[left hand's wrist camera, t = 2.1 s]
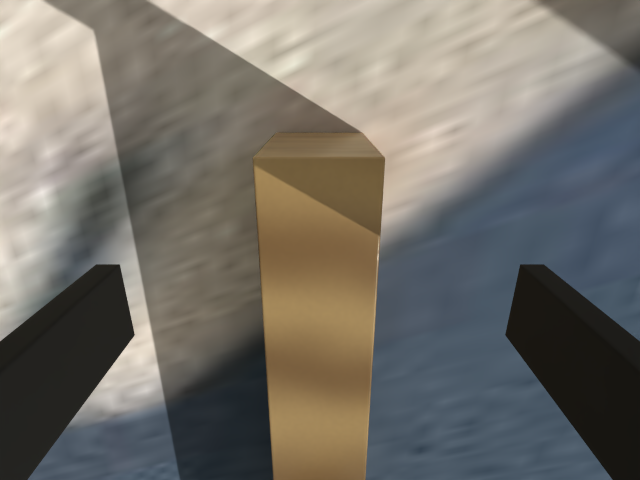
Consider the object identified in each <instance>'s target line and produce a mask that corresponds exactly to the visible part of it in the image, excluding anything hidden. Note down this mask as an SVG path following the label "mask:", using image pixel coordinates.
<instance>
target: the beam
mask: <svg viewBox="0 0 640 480" xmlns="http://www.w3.org/2000/svg"><path fill="white" fill-rule="evenodd" d="M384 168H385V157H384V156H383V155H382V154H381V153H380V152H379V151H378V149H377V148H376V147H375V146H374V145H373V144H372V143H371V142H370V141H369V139H368V138H367V137H366V136H365V135H364V134H363V133H275V134H274V136H273V137H272V138H271V139H270V140H269V141H268V142H267V143H266V144H265V145H264V146H263V147H262V148H261V150H260V151H259V152H258V153H257V154H256V155H255V156H254V157H253V171H254V186H255V202H256V217H257V233H258V249H259V264H260V280H261V296H262V311H263V327H264V342H265V358H266V374H267V389H268V405H269V421H270V436H271V452H272V467H273V480H365V475H366V459H367V443H368V427H369V410H370V394H371V378H372V362H373V346H374V330H375V314H376V297H377V281H378V265H379V249H380V233H381V217H382V201H383V184H384Z"/></svg>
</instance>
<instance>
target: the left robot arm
mask: <svg viewBox="0 0 640 480" xmlns="http://www.w3.org/2000/svg"><path fill="white" fill-rule="evenodd" d="M133 337H134V330H133V325H132V320H131V316H130V311H129V306H128V301H127V297H126V292H125V287H124V283H123V278H122V273H121V268H120V265H95V266H94V267H93V268H91V269H90V270H89V271H88V272H86V273H85V274H84V275H83V276H81V277H80V278H79V279H78V280H76V281H75V282H74V283H73V284H71V285H70V286H69V287H68V288H66V289H65V290H64V291H63V292H61V293H60V294H59V295H58V296H56V297H55V298H54V299H53V300H51V301H50V302H49V303H48V304H46V305H45V306H44V307H43V308H41V309H40V310H39V311H38V312H36V313H35V314H34V315H33V316H31V317H30V318H29V319H28V320H26V321H25V322H24V323H23V324H21V325H20V326H19V327H18V328H16V329H15V330H14V331H13V332H11V333H10V334H9V335H8V336H6V337H5V338H4V339H3V340H2V341H0V480H27V479H28V478H29V477H30V475H31V474H32V473H33V471H34V470H35V469H36V467H37V466H38V465H39V463H40V462H41V460H42V459H43V458H44V456H45V455H46V454H47V452H48V451H49V450H50V448H51V447H52V446H53V444H54V443H55V442H56V440H57V439H58V438H59V436H60V435H61V434H62V432H63V431H64V430H65V428H66V427H67V425H68V424H69V423H70V421H71V420H72V419H73V417H74V416H75V415H76V413H77V412H78V411H79V409H80V408H81V407H82V405H83V404H84V403H85V401H86V400H87V399H88V397H89V396H90V394H91V393H92V392H93V390H94V389H95V388H96V386H97V385H98V384H99V382H100V381H101V380H102V378H103V377H104V376H105V374H106V373H107V372H108V370H109V369H110V368H111V366H112V365H113V363H114V362H115V361H116V359H117V358H118V357H119V355H120V354H121V353H122V351H123V350H124V349H125V347H126V346H127V345H128V343H129V342H130V341H131V339H132V338H133ZM506 337H507V338H508V339H509V341H510V342H511V343H512V345H513V346H514V347H515V349H516V350H517V351H518V353H519V354H520V355H521V357H522V358H523V359H524V361H525V362H526V363H527V365H528V366H529V368H530V369H531V370H532V372H533V373H534V374H535V376H536V377H537V378H538V380H539V381H540V382H541V384H542V385H543V386H544V388H545V389H546V390H547V392H548V393H549V394H550V396H551V397H552V399H553V400H554V401H555V403H556V404H557V405H558V407H559V408H560V409H561V411H562V412H563V413H564V415H565V416H566V417H567V419H568V420H569V421H570V423H571V424H572V425H573V427H574V428H575V430H576V431H577V432H578V434H579V435H580V436H581V438H582V439H583V440H584V442H585V443H586V444H587V446H588V447H589V448H590V450H591V451H592V452H593V454H594V455H595V456H596V458H597V459H598V460H599V462H600V463H601V465H602V466H603V467H604V469H605V470H606V471H607V473H608V474H609V475H610V477H611V478H612V479H613V480H640V341H638V340H637V339H636V338H635V337H634V336H632V335H631V334H630V333H629V332H627V331H626V330H625V329H624V328H622V327H621V326H620V325H619V324H617V323H616V322H615V321H614V320H612V319H611V318H610V317H609V316H607V315H606V314H605V313H604V312H602V311H601V310H600V309H599V308H597V307H596V306H595V305H594V304H592V303H591V302H590V301H589V300H587V299H586V298H585V297H584V296H582V295H581V294H580V293H579V292H577V291H576V290H575V289H574V288H572V287H571V286H570V285H569V284H567V283H566V282H565V281H564V280H562V279H561V278H560V277H559V276H557V275H556V274H555V273H554V272H552V271H551V270H550V269H549V268H547V267H546V266H545V265H520V268H519V273H518V278H517V283H516V287H515V292H514V297H513V301H512V306H511V311H510V316H509V320H508V325H507V330H506Z"/></svg>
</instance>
